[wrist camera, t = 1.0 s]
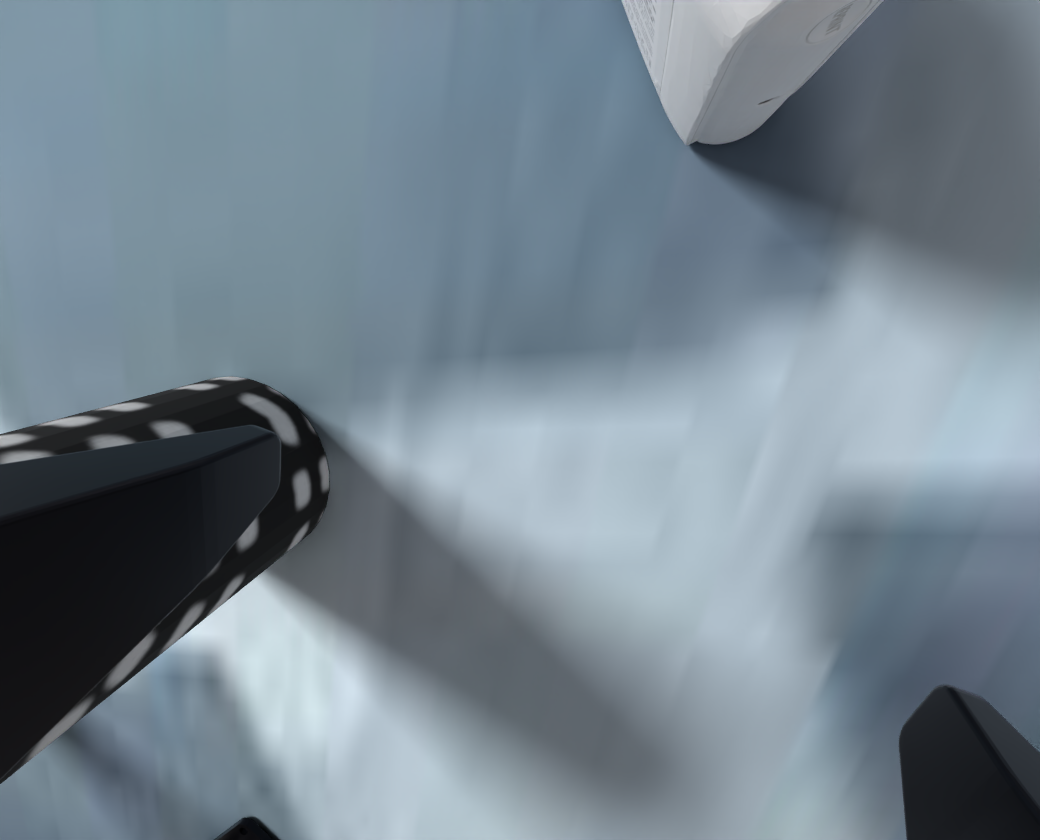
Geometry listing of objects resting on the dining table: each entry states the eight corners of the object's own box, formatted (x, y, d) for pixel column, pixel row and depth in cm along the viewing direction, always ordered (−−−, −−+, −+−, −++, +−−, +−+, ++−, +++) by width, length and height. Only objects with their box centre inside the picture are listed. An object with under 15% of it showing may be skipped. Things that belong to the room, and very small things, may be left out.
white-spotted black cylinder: (338, 558, 26) (-444, 1317, 7) (180, 544, 28) (-798, 1136, 9) (319, 378, 24) (-854, 788, 5) (149, 374, 26) (-1219, 676, 7)
